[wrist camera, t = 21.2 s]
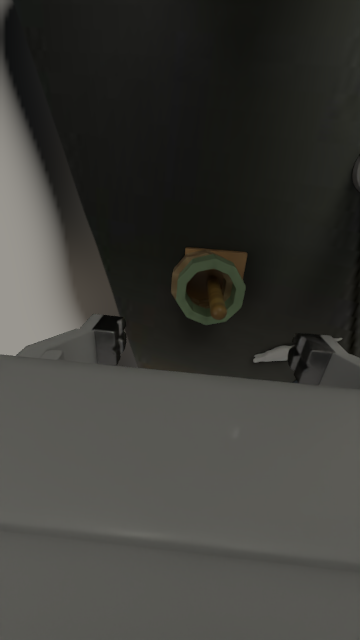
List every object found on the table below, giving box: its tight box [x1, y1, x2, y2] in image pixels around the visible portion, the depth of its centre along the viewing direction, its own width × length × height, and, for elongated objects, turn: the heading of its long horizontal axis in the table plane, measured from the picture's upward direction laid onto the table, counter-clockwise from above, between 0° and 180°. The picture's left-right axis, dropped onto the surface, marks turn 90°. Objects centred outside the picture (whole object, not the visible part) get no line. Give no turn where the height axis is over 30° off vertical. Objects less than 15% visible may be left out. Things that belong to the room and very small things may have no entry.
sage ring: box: [176, 254, 246, 325], centre depth 33 cm, size 9×9×3 cm
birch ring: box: [171, 250, 233, 309], centre depth 36 cm, size 9×9×3 cm
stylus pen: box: [253, 338, 343, 363], centre depth 42 cm, size 15×3×2 cm, turn 109°
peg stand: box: [185, 247, 247, 320], centre depth 32 cm, size 9×9×14 cm
